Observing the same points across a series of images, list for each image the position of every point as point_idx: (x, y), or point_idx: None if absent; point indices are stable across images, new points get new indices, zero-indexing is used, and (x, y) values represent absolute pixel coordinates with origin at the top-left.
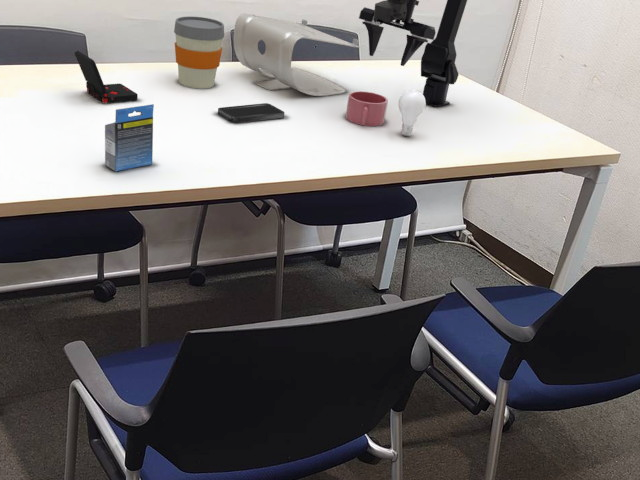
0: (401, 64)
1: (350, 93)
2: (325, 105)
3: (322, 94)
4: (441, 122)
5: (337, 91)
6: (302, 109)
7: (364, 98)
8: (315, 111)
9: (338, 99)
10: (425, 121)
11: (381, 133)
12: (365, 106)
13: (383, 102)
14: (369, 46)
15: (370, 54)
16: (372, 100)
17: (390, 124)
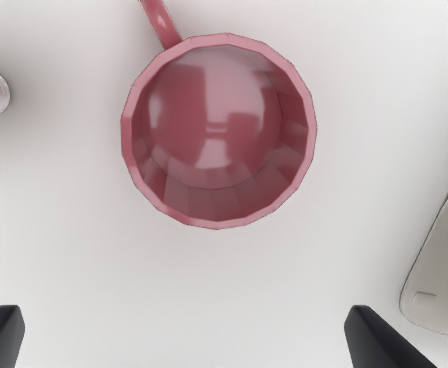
0: (3, 309)
1: (311, 113)
2: (392, 135)
3: (445, 218)
4: (33, 336)
5: (419, 286)
6: (439, 5)
7: (267, 190)
8: (390, 32)
9: (386, 232)
10: (70, 300)
11: (67, 24)
12: (166, 23)
13: (127, 135)
14: (424, 360)
15: (361, 309)
16: (234, 204)
17: (119, 162)
